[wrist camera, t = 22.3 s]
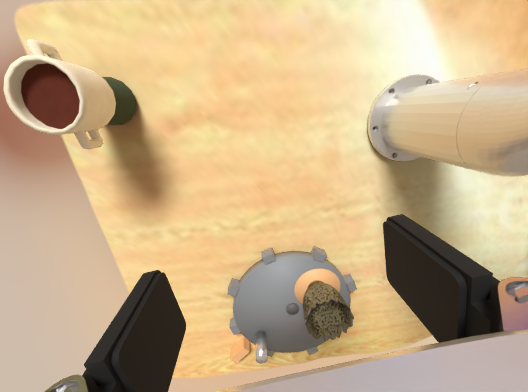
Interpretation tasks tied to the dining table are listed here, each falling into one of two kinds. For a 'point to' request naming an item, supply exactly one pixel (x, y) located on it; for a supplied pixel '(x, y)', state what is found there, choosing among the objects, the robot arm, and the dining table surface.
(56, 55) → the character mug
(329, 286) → the cup
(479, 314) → the robot arm
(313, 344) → the index wheel
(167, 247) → the dining table surface
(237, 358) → the peach rectangular brick
